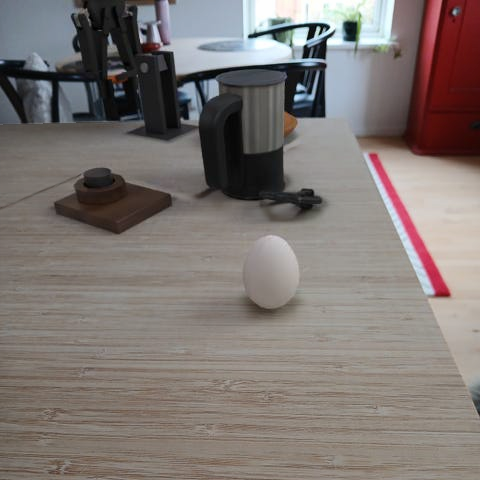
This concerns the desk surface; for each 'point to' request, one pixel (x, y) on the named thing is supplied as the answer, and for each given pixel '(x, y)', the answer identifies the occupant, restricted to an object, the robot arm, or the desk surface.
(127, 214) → the brown button base
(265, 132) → the milk frother
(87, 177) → the stop button
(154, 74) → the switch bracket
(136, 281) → the desk surface
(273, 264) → the egg
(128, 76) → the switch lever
